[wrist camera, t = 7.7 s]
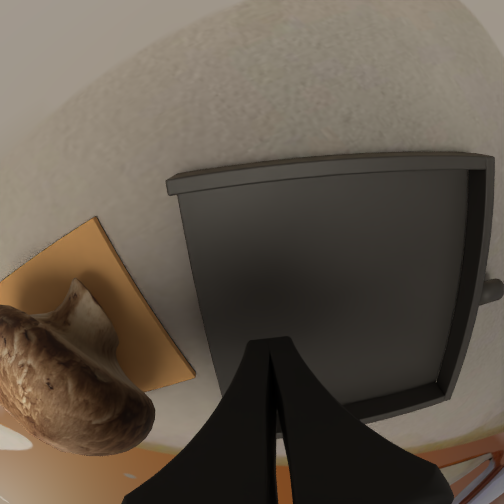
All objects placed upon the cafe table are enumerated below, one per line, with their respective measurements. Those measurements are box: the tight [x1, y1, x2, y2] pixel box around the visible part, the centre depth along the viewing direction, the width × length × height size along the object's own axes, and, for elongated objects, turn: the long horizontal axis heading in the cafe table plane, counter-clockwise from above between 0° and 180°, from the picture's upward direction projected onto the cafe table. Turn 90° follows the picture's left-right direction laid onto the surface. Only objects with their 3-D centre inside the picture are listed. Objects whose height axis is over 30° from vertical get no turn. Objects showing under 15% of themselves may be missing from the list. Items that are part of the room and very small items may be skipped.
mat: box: [0, 217, 196, 392], centre depth 13 cm, size 8×8×1 cm
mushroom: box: [0, 278, 155, 456], centre depth 10 cm, size 8×8×6 cm
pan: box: [166, 152, 504, 439], centre depth 12 cm, size 14×12×2 cm
